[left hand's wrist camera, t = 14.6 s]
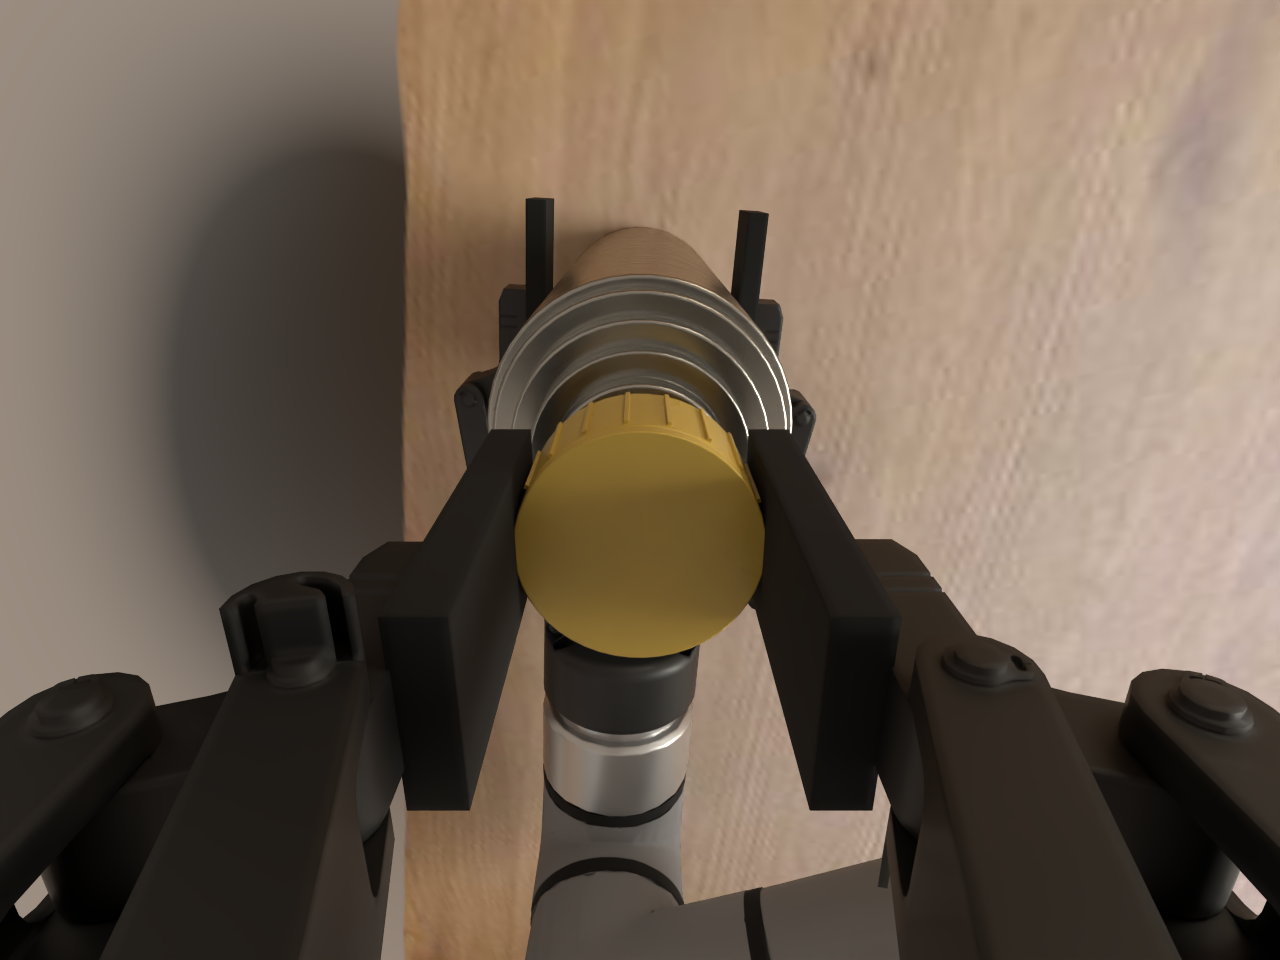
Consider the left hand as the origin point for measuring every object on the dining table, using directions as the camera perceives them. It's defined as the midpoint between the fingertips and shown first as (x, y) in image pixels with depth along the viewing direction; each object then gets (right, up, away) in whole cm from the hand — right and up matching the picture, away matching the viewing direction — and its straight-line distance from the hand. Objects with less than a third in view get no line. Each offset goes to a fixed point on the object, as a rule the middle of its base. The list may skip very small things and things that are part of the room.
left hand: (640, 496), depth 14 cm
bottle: (0, +9, +22) cm, 24 cm away
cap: (0, -1, -2) cm, 2 cm away
